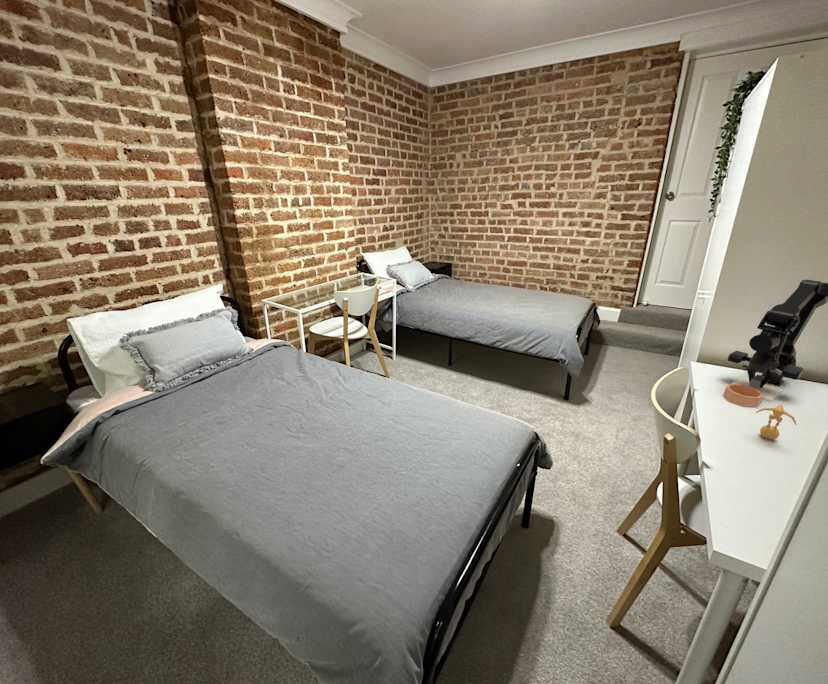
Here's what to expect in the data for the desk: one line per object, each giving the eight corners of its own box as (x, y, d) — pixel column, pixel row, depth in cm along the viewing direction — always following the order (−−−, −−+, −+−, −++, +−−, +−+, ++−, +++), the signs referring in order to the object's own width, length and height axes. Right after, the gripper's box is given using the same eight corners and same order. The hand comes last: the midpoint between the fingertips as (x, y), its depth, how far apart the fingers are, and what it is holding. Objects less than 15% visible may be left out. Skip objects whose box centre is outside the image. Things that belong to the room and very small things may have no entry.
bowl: (729, 391, 131) (733, 381, 129) (762, 402, 124) (766, 392, 122) (719, 399, 126) (723, 389, 125) (752, 411, 119) (756, 400, 118)
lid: (740, 378, 139) (743, 367, 137) (782, 391, 129) (787, 379, 128) (727, 387, 133) (731, 376, 131) (770, 401, 123) (775, 389, 122)
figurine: (787, 441, 105) (803, 405, 100) (785, 450, 101) (801, 413, 96) (749, 428, 110) (763, 394, 106) (746, 437, 107) (760, 401, 102)
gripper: (728, 342, 128) (715, 382, 134) (801, 360, 113) (783, 404, 119) (740, 335, 133) (727, 373, 139) (811, 352, 119) (794, 394, 125)
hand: (755, 385), depth 130 cm, fingers open, 3 cm apart
